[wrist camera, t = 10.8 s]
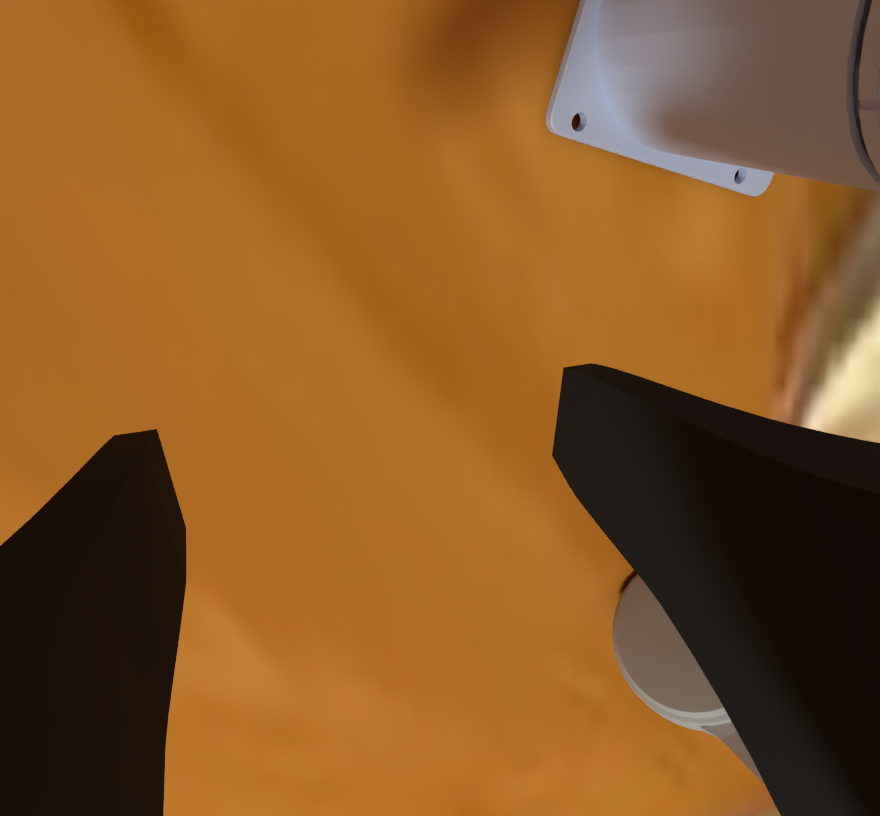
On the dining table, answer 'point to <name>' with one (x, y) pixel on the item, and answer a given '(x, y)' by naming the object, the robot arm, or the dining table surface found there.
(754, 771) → the headphones
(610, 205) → the dining table surface
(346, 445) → the dining table surface
